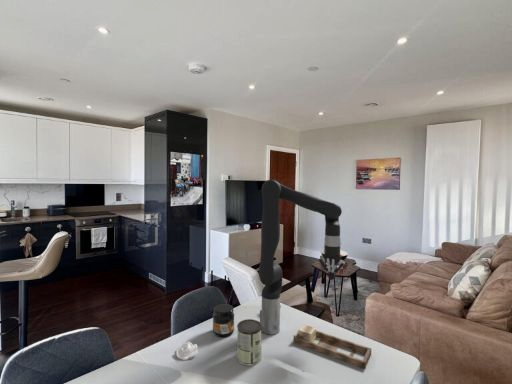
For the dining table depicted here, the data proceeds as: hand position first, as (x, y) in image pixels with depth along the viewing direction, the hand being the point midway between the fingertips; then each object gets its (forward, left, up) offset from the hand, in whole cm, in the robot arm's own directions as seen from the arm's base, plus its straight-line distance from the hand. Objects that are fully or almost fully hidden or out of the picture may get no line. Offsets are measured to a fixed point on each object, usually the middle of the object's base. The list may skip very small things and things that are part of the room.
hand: (331, 279), depth 134 cm
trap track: (+5, -14, -27) cm, 31 cm away
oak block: (-6, -14, -26) cm, 30 cm away
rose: (-46, -51, -28) cm, 74 cm away
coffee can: (-22, -38, -27) cm, 52 cm away
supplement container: (-44, -29, -27) cm, 59 cm away
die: (-34, +2, -27) cm, 44 cm away
